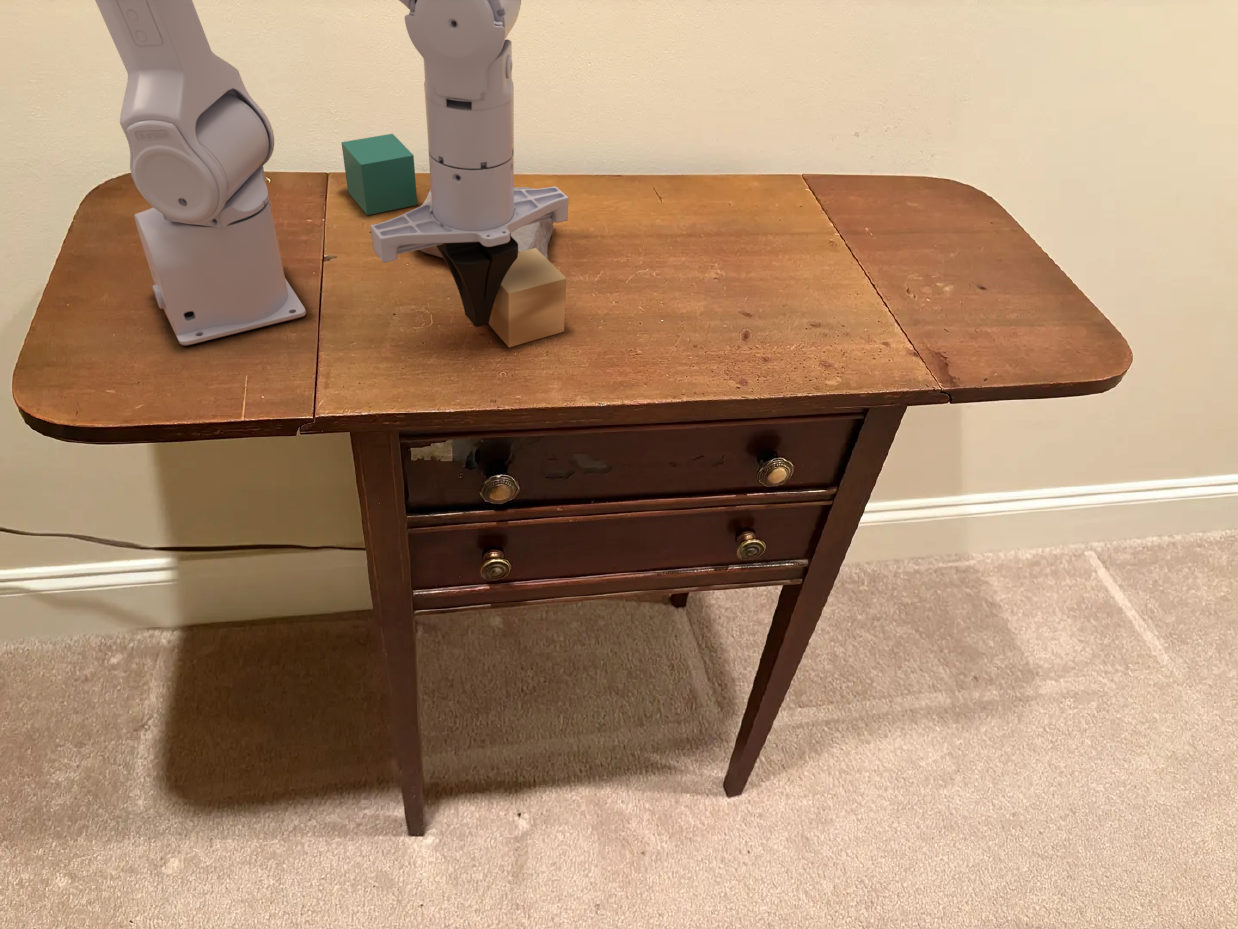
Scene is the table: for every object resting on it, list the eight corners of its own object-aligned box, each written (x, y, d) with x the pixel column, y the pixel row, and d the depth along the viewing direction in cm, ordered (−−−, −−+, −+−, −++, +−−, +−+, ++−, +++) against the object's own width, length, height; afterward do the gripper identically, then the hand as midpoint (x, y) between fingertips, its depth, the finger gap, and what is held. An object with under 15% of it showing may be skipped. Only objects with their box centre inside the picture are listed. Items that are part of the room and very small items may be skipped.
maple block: (508, 347, 72) (508, 293, 68) (480, 315, 75) (478, 261, 71) (564, 331, 74) (566, 278, 70) (534, 300, 77) (535, 247, 73)
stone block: (541, 296, 80) (558, 221, 86) (538, 254, 76) (556, 179, 82) (408, 284, 81) (434, 210, 87) (398, 241, 77) (426, 167, 83)
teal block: (367, 215, 85) (360, 164, 81) (347, 192, 88) (341, 141, 84) (417, 205, 87) (413, 154, 84) (397, 182, 90) (392, 132, 87)
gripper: (392, 197, 57) (409, 372, 66) (593, 156, 63) (583, 322, 72) (351, 150, 61) (372, 321, 70) (543, 117, 67) (540, 278, 76)
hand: (477, 318), depth 71 cm, fingers closed
